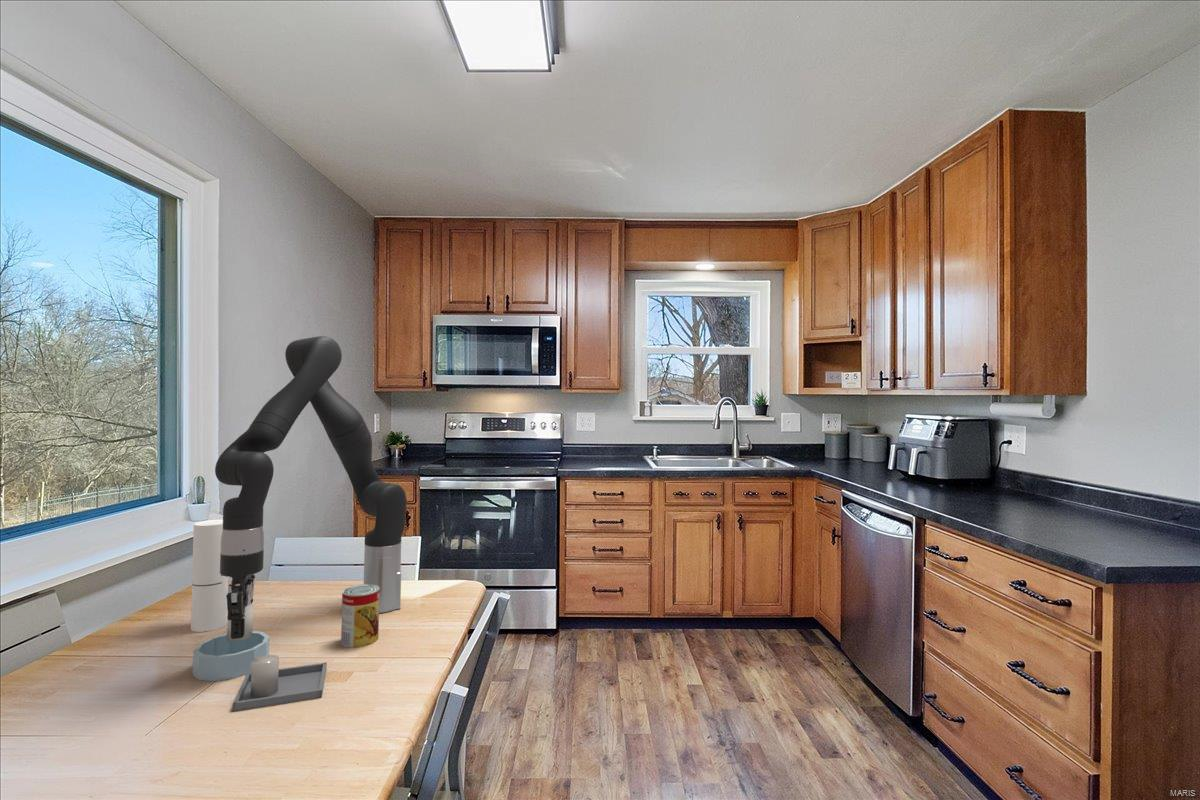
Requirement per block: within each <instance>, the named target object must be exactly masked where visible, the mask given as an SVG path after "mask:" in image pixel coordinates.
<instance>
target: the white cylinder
mask: <svg viewBox="0 0 1200 800" xmlns="http://www.w3.org/2000/svg"><path fill="white" fill-rule="evenodd" d="M279 666H280V657H279V655H276V654H269V655H265V656H261V657H258V658H256V659H254V660H253V661H252V662H251V697H252V698H263V697H269V696H271V695H273V694H275V693H276V692H277V691H278V673H279V669H280V668H279Z"/></svg>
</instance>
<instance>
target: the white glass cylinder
mask: <svg viewBox="0 0 1200 800" xmlns="http://www.w3.org/2000/svg"><path fill="white" fill-rule="evenodd" d="M234 613H239V610H234ZM245 614H246V617H245V631H244V636H243V637H242V638H237V639H232V638H231V620H228V618H227V624H226V634H227V640H228V641H241V640H245V639H248V638H250V637H251V636H252V632H253V631H254V630H253V627H254V604H253V603H252V604H249V605H248V606H247V607H246V613H245ZM227 617H228V615H227Z"/></svg>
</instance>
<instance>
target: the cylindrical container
mask: <svg viewBox="0 0 1200 800" xmlns="http://www.w3.org/2000/svg"><path fill="white" fill-rule="evenodd" d="M222 529H223V519H208V520H203V521H202V520H201V521H196V522H195V523H193V537H192V539H193V541H192V543H193V544H192V570H191V571H192V572H191V573H192V575H191V576H192V577H191V578H192V579H191V583H192V584H191V610H190V611H191V614H190V615H191V616H190V618H191V619H190V631H191V630H192V632H194V631H195V632H194V633H204V631H207V632H211V630H212V631H216V630H218V629H221V627H222V628H224V627H225V626H227V616H228V611H227V598H226V595H227V593H228V586H229V583H228V582H229V576H228V577H226V576H223V575H221V574H220V549H221V536H222ZM215 629H216V630H215Z"/></svg>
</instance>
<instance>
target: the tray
mask: <svg viewBox="0 0 1200 800" xmlns="http://www.w3.org/2000/svg"><path fill="white" fill-rule="evenodd" d="M327 664H328V663H327V661H326V662H320V663H314V664H313V663H312V664H305V665H297V666H290V667H283V668H279V673H278V691H277V692H276V693H275V694H273V695H271V696H269V697H263V698H252V697H251V673H247V674H246V675H244V678H243V681H242V683H241V685H240V687H239V689H238V692H237V694H236V696H235V698H234V700H233V702H232V712H238V711H244V710H246V711H247V710H251V709H258V708H262V707H263V708H264V707H265V708H266V707H270V706H271V707H272V706H276V705H284V704H288V703H290V704H291V703H294V702H295V703H296V702H301V701H308V700H309V701H310V700H314V699H315V700H316V699H321V698H323V693H324V686H325V683H326V682H325V680H326V674H327V666H328V665H327Z"/></svg>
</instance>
